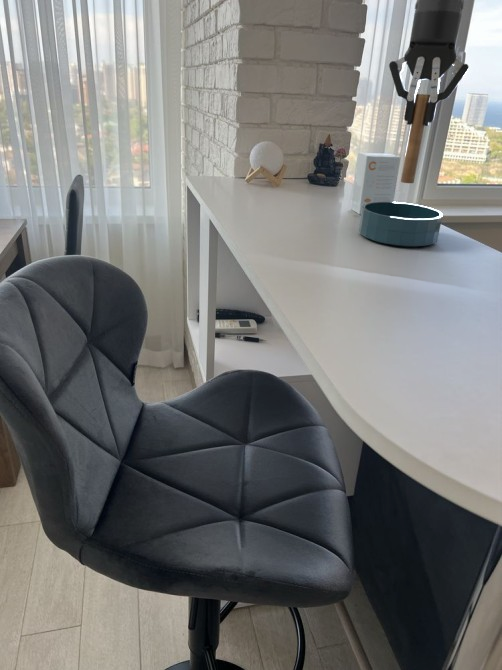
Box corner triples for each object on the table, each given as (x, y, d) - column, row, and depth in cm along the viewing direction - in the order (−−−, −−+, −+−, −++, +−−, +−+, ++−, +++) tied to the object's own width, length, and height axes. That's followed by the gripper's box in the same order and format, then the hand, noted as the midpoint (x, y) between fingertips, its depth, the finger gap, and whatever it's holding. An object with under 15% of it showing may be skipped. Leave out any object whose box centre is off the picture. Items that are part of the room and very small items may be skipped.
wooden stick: (414, 182, 96) (430, 94, 89) (413, 183, 94) (430, 94, 87) (401, 180, 97) (416, 93, 90) (400, 182, 95) (415, 93, 88)
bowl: (437, 234, 104) (443, 207, 102) (434, 253, 91) (441, 223, 89) (365, 224, 108) (369, 198, 106) (352, 241, 96) (356, 212, 93)
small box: (381, 209, 124) (390, 153, 118) (391, 215, 118) (401, 156, 112) (349, 208, 122) (357, 152, 117) (358, 214, 117) (367, 155, 111)
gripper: (482, 15, 84) (458, 127, 92) (397, 14, 88) (381, 121, 96) (484, 8, 78) (458, 129, 86) (392, 7, 82) (375, 123, 90)
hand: (417, 124), depth 91 cm, fingers closed on wooden stick, 2 cm apart
